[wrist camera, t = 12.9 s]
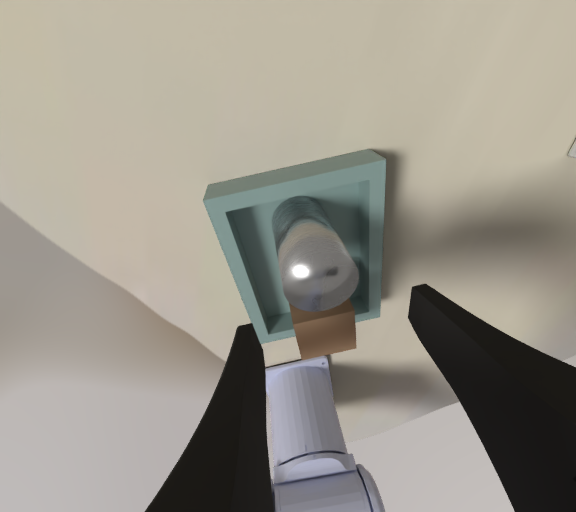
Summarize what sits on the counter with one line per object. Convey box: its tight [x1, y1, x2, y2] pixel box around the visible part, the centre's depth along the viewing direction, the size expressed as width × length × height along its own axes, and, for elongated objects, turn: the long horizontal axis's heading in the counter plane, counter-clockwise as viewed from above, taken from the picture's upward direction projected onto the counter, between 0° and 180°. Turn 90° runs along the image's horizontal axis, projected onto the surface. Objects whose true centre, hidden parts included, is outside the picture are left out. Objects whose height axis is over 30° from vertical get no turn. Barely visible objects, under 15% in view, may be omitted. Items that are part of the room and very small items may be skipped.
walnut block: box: [289, 298, 356, 360], centre depth 20 cm, size 4×4×6 cm
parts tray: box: [203, 149, 386, 344], centre depth 21 cm, size 14×11×3 cm
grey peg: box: [272, 196, 359, 312], centre depth 17 cm, size 4×4×7 cm
